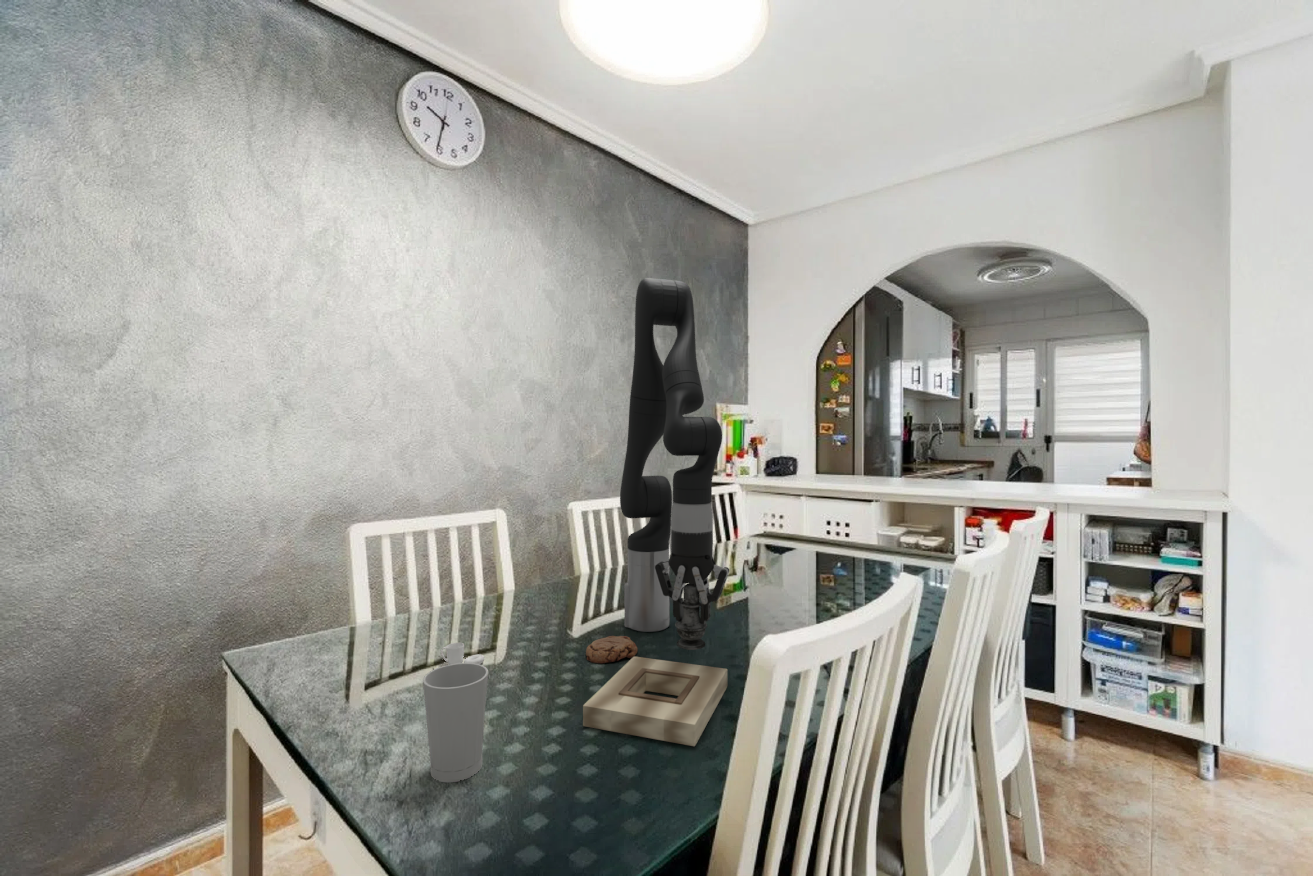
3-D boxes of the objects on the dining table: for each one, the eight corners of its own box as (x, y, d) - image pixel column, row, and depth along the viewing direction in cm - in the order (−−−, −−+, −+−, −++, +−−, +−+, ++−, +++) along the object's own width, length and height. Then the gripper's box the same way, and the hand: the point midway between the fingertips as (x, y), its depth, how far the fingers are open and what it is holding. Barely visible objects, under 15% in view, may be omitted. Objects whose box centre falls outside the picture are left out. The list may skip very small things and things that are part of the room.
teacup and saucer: (490, 663, 111) (490, 642, 111) (460, 680, 104) (459, 656, 104) (455, 656, 115) (454, 635, 115) (423, 671, 107) (423, 649, 107)
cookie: (574, 661, 112) (574, 645, 112) (603, 642, 121) (603, 628, 121) (620, 670, 107) (620, 653, 107) (646, 650, 117) (646, 635, 117)
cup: (434, 752, 79) (433, 663, 79) (494, 749, 80) (493, 661, 80) (414, 788, 71) (414, 689, 71) (481, 784, 72) (481, 687, 72)
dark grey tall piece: (705, 651, 104) (705, 584, 103) (672, 648, 105) (672, 581, 104) (709, 639, 109) (709, 575, 109) (677, 636, 111) (678, 573, 110)
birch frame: (583, 726, 86) (583, 703, 86) (633, 673, 105) (633, 654, 105) (694, 746, 81) (694, 722, 81) (727, 686, 99) (727, 667, 99)
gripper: (735, 526, 108) (734, 619, 108) (661, 521, 112) (661, 610, 113) (725, 533, 100) (725, 633, 101) (647, 528, 105) (647, 623, 106)
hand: (691, 620), depth 107 cm, fingers closed on dark grey tall piece, 4 cm apart
